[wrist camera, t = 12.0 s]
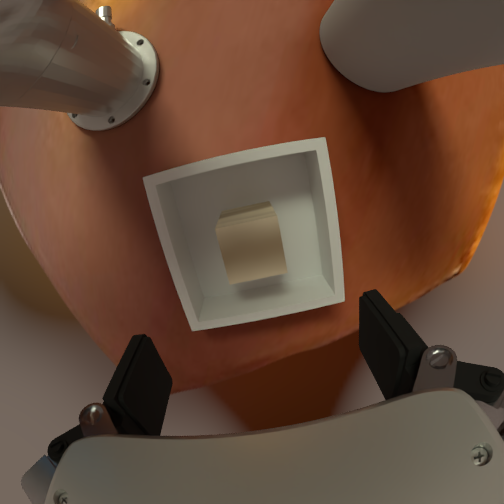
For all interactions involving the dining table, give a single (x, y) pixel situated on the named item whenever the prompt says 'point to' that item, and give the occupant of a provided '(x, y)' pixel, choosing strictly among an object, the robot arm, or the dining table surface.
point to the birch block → (251, 243)
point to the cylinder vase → (411, 39)
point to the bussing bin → (243, 194)
